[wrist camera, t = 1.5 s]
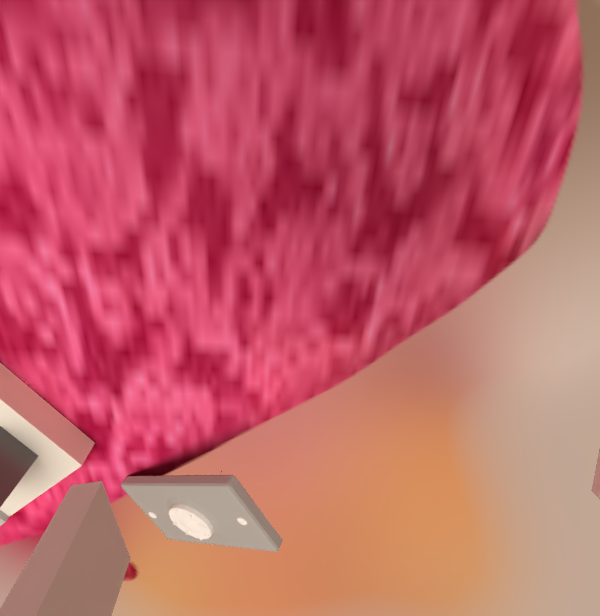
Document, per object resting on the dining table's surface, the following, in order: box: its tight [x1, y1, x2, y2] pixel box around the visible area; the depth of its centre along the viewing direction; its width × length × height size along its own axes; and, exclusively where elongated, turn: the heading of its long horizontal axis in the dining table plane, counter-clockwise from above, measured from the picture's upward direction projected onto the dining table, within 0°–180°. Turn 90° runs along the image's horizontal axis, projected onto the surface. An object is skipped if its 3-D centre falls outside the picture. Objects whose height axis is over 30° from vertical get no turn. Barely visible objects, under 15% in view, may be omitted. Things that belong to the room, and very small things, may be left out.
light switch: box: [121, 475, 282, 552], centre depth 39 cm, size 8×6×14 cm
